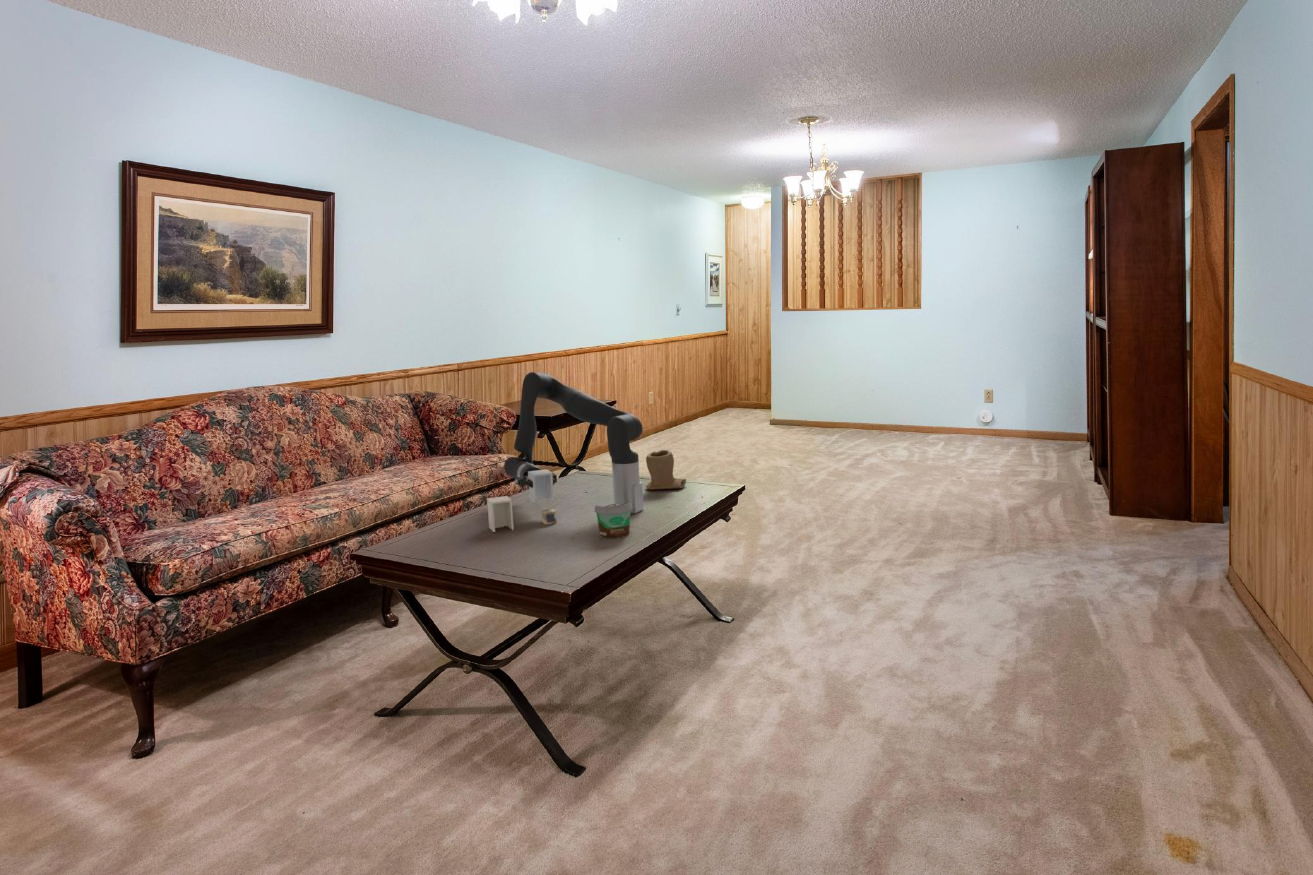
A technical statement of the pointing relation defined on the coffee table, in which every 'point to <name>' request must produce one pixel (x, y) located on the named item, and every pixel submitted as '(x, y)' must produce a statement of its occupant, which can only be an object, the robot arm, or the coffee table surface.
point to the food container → (614, 520)
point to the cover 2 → (541, 485)
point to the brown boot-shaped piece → (662, 471)
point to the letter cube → (548, 516)
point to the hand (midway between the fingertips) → (542, 483)
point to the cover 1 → (500, 512)
